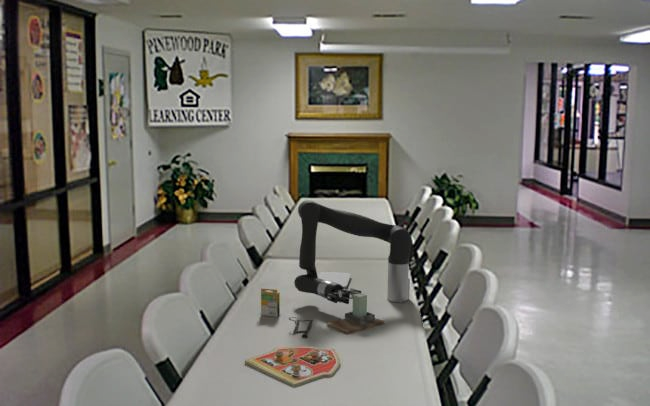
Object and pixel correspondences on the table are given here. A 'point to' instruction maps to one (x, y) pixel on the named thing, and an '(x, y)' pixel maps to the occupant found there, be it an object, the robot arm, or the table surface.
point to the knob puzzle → (297, 364)
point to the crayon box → (270, 303)
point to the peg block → (359, 305)
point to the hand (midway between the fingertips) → (356, 299)
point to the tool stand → (355, 323)
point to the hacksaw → (301, 331)
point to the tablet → (336, 277)
